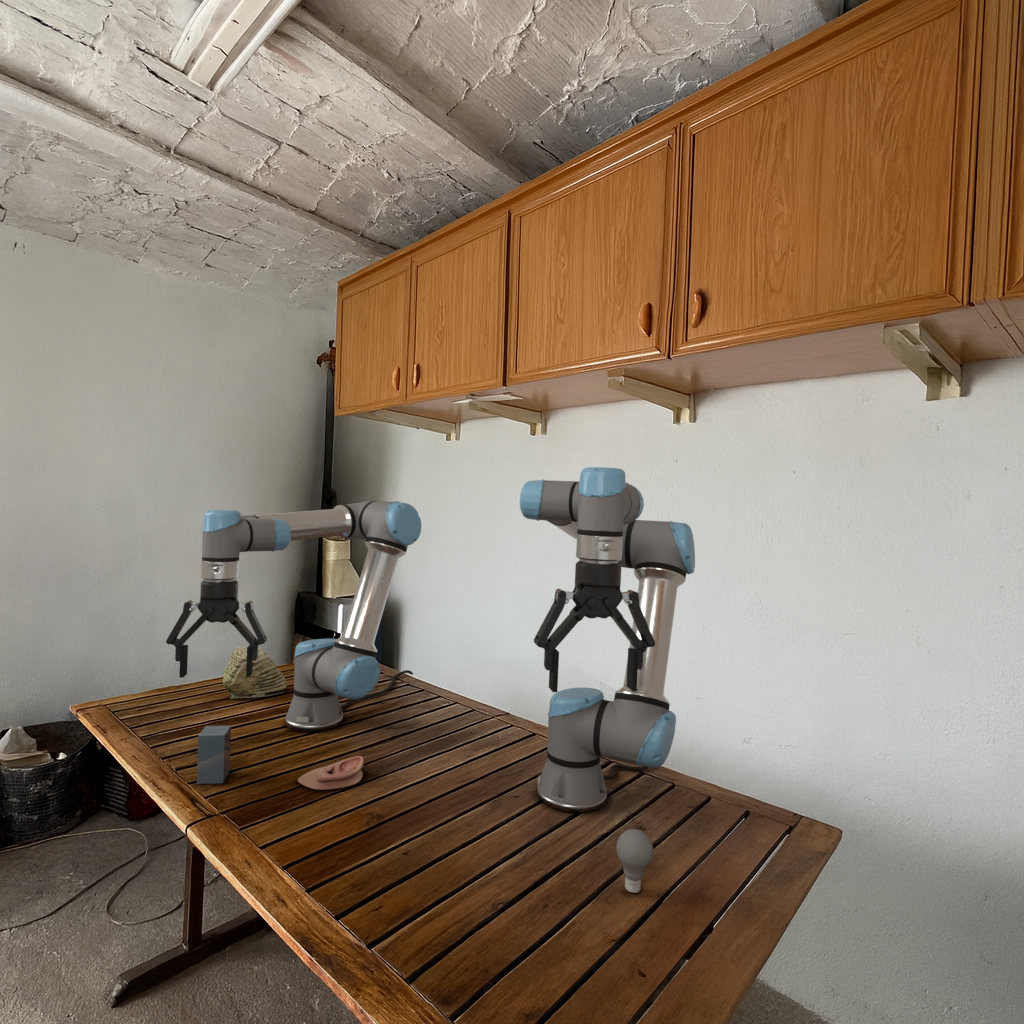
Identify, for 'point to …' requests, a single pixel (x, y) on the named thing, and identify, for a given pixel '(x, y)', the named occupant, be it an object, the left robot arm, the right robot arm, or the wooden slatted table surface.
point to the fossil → (252, 676)
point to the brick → (213, 754)
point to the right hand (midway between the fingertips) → (592, 689)
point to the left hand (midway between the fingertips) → (216, 675)
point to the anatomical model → (334, 775)
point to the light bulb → (634, 857)
